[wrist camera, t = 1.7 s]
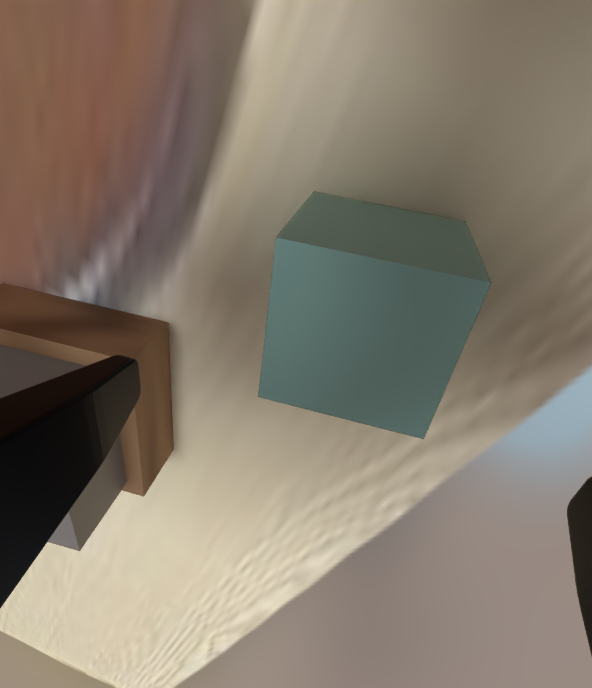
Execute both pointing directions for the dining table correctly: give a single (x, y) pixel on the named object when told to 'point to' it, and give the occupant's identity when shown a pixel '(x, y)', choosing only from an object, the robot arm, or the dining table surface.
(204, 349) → the dining table surface
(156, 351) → the walnut slab
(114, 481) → the charcoal block
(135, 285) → the dining table surface
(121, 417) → the robot arm
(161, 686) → the dining table surface
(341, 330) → the teal cube
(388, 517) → the dining table surface
